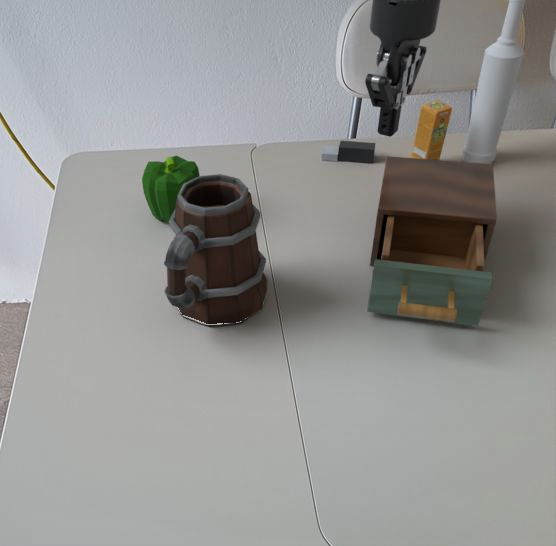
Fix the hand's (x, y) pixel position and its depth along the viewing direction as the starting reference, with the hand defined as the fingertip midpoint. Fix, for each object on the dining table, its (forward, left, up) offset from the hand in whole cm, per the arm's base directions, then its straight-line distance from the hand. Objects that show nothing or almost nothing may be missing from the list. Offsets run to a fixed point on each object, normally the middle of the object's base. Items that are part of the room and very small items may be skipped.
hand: (387, 133), depth 85 cm
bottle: (-14, -19, -12) cm, 27 cm away
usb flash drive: (+6, -16, -12) cm, 21 cm away
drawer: (-7, +19, -11) cm, 23 cm away
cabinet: (-7, +6, -12) cm, 15 cm away
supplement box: (-6, -15, -12) cm, 20 cm away
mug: (+18, +25, -12) cm, 33 cm away
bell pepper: (+29, +6, -12) cm, 32 cm away
